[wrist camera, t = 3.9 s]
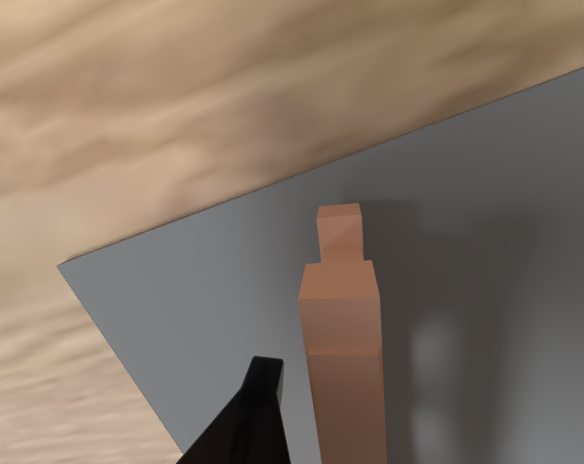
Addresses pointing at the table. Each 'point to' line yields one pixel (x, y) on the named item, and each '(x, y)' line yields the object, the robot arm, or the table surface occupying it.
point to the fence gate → (344, 342)
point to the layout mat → (383, 288)
